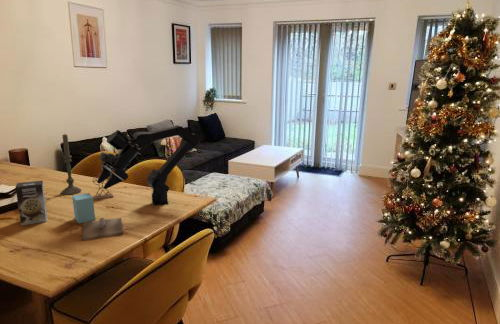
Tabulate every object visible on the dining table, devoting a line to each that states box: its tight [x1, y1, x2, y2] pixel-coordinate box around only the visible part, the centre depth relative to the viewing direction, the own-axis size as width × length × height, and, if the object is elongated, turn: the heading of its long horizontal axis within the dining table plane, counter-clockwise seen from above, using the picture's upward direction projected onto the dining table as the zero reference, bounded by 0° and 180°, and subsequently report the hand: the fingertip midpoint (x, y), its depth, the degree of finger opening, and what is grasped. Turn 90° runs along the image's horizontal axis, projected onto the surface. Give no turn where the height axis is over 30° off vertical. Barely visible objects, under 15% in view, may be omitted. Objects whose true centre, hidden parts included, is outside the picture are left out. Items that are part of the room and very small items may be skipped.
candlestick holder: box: [61, 134, 82, 196], centre depth 174 cm, size 9×9×30 cm
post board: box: [81, 217, 124, 241], centre depth 136 cm, size 14×14×5 cm
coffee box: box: [15, 180, 48, 226], centre depth 141 cm, size 9×6×16 cm
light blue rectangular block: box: [71, 192, 96, 224], centre depth 144 cm, size 6×6×10 cm
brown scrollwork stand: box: [92, 173, 114, 201], centre depth 169 cm, size 9×4×12 cm, turn 119°
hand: (100, 185), depth 147 cm, fingers open, 9 cm apart
